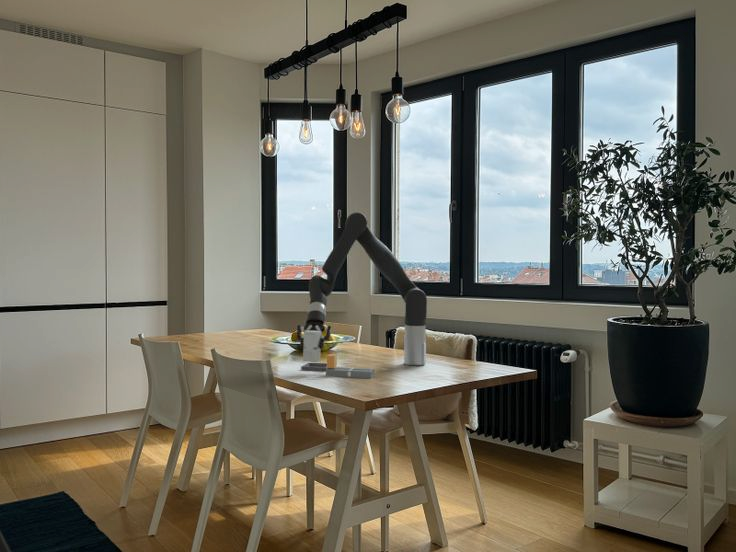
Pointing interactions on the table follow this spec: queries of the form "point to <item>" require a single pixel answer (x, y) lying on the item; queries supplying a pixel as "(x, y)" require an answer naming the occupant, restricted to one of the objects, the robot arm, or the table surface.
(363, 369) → the switch panel
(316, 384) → the table surface
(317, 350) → the skincare box
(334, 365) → the block
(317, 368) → the frame
